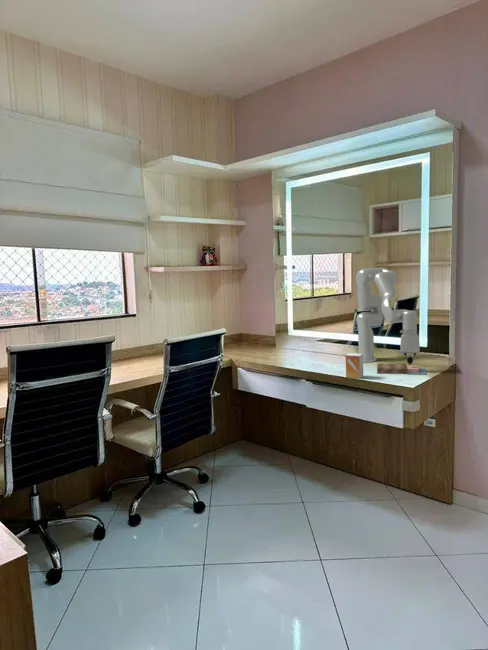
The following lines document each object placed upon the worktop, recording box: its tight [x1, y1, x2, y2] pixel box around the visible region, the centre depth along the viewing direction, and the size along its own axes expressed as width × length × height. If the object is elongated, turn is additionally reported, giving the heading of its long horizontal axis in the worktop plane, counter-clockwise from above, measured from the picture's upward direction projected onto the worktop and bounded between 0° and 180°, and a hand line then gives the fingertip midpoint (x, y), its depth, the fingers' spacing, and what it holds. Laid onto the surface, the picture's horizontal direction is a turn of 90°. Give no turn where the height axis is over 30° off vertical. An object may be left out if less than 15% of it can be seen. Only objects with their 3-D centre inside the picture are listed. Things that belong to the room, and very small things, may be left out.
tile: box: [406, 364, 419, 373], centre depth 249 cm, size 6×9×2 cm, turn 164°
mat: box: [406, 367, 427, 376], centre depth 248 cm, size 10×15×1 cm, turn 163°
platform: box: [376, 362, 408, 375], centre depth 252 cm, size 16×13×3 cm
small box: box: [345, 352, 364, 380], centre depth 243 cm, size 8×6×13 cm
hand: (410, 363), depth 249 cm, fingers closed
